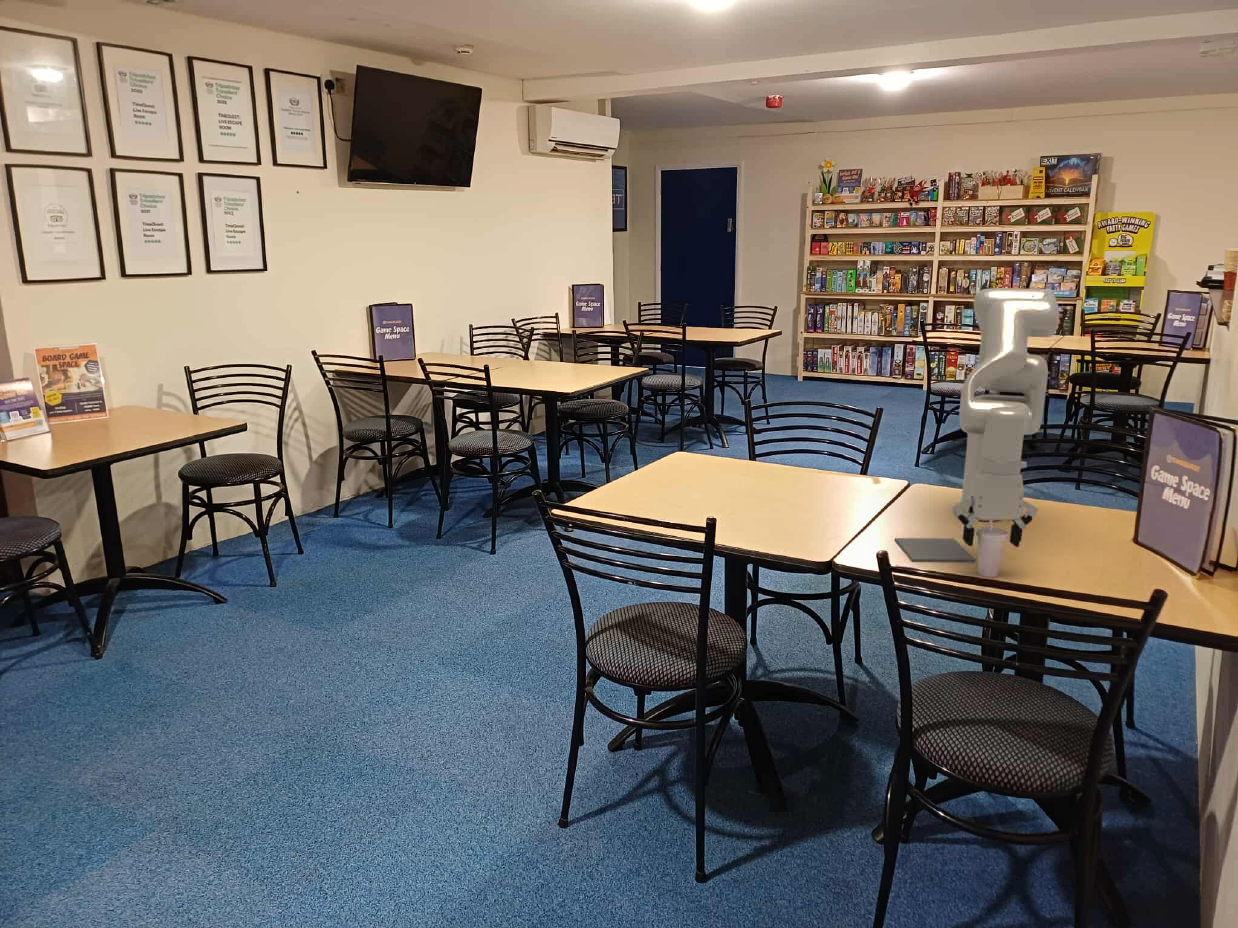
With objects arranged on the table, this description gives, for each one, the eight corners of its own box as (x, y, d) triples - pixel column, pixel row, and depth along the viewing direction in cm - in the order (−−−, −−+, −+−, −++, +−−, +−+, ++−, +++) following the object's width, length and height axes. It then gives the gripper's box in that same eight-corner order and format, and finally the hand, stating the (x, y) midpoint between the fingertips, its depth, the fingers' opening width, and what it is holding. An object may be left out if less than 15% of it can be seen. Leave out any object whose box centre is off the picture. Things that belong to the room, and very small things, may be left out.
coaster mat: (953, 540, 206) (953, 538, 206) (975, 562, 193) (975, 559, 193) (894, 540, 207) (894, 538, 207) (912, 561, 193) (912, 559, 193)
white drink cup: (966, 568, 189) (972, 508, 185) (994, 568, 190) (1001, 507, 186) (980, 580, 183) (987, 517, 179) (1009, 579, 183) (1017, 516, 180)
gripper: (1034, 462, 183) (1024, 539, 188) (951, 462, 184) (944, 538, 188) (1050, 471, 176) (1040, 550, 180) (964, 470, 177) (956, 549, 181)
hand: (991, 544), depth 184 cm, fingers open, 9 cm apart
